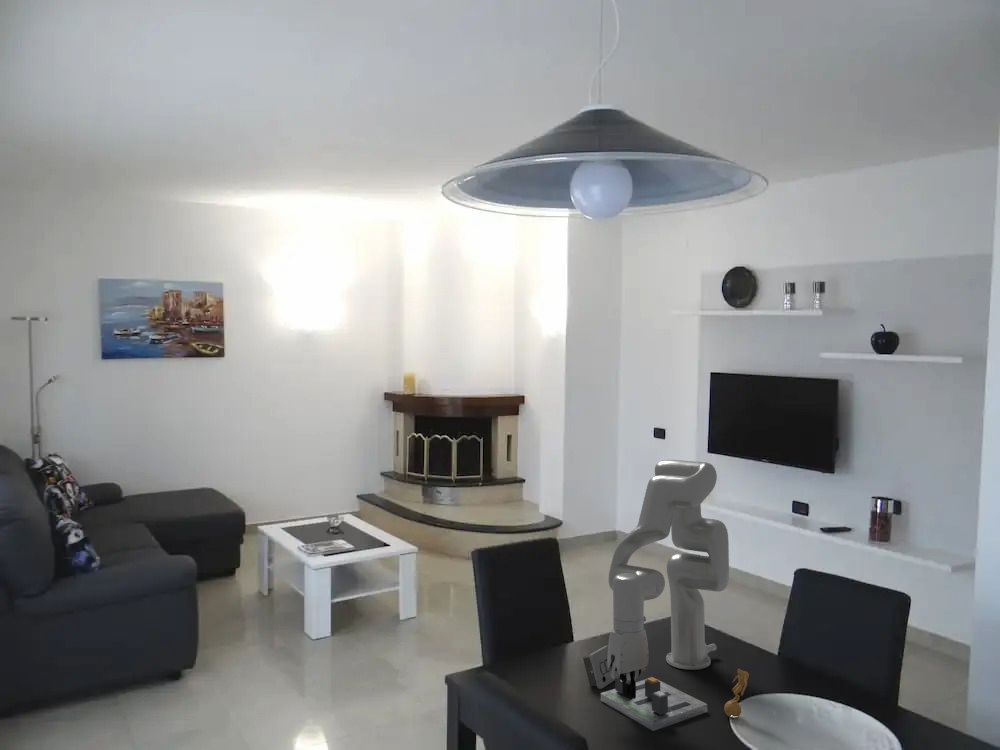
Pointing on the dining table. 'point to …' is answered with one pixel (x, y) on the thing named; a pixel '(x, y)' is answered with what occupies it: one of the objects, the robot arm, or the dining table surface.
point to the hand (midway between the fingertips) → (629, 697)
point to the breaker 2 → (659, 702)
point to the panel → (641, 706)
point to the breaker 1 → (618, 685)
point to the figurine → (732, 705)
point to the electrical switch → (598, 668)
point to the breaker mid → (651, 686)
